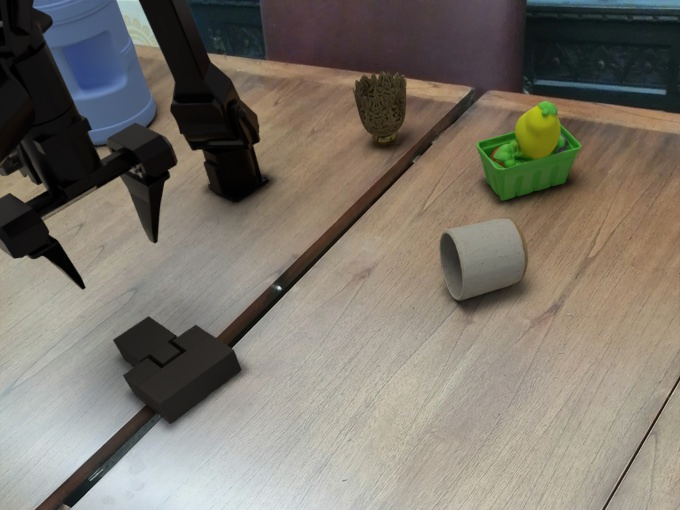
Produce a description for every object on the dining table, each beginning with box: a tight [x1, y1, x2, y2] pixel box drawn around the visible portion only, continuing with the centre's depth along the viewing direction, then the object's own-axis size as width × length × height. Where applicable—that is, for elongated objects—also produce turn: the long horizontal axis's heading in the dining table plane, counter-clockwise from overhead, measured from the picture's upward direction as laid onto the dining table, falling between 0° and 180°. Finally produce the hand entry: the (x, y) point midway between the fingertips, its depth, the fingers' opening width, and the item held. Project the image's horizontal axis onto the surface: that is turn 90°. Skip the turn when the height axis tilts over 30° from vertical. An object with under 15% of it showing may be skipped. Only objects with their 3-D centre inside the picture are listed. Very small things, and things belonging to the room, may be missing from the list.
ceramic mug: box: [438, 218, 529, 302], centre depth 78 cm, size 11×8×8 cm
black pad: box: [112, 315, 181, 369], centre depth 78 cm, size 5×8×3 cm, turn 46°
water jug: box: [33, 0, 157, 146], centre depth 103 cm, size 16×16×28 cm
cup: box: [352, 70, 408, 147], centre depth 98 cm, size 8×7×8 cm
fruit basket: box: [476, 100, 582, 201], centre depth 86 cm, size 11×9×11 cm
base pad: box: [122, 324, 242, 424], centre depth 75 cm, size 10×7×3 cm
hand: (118, 264), depth 72 cm, fingers open, 9 cm apart
